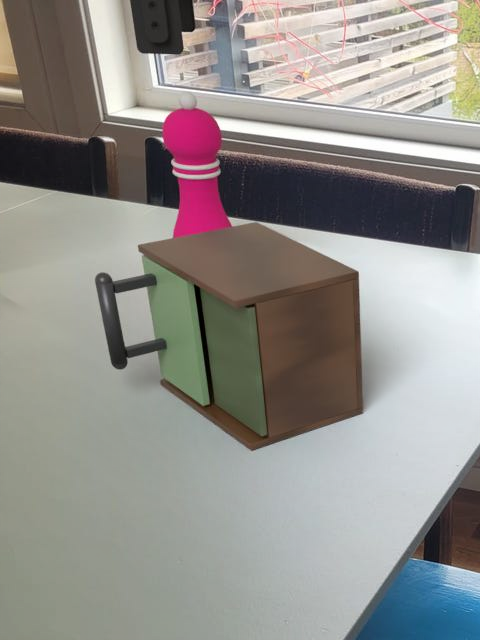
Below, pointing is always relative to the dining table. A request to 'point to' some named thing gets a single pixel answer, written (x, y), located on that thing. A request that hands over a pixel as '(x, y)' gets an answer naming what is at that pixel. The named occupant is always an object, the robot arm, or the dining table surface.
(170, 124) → the pepper mill
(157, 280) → the closet door
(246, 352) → the cupboard
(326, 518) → the dining table surface
